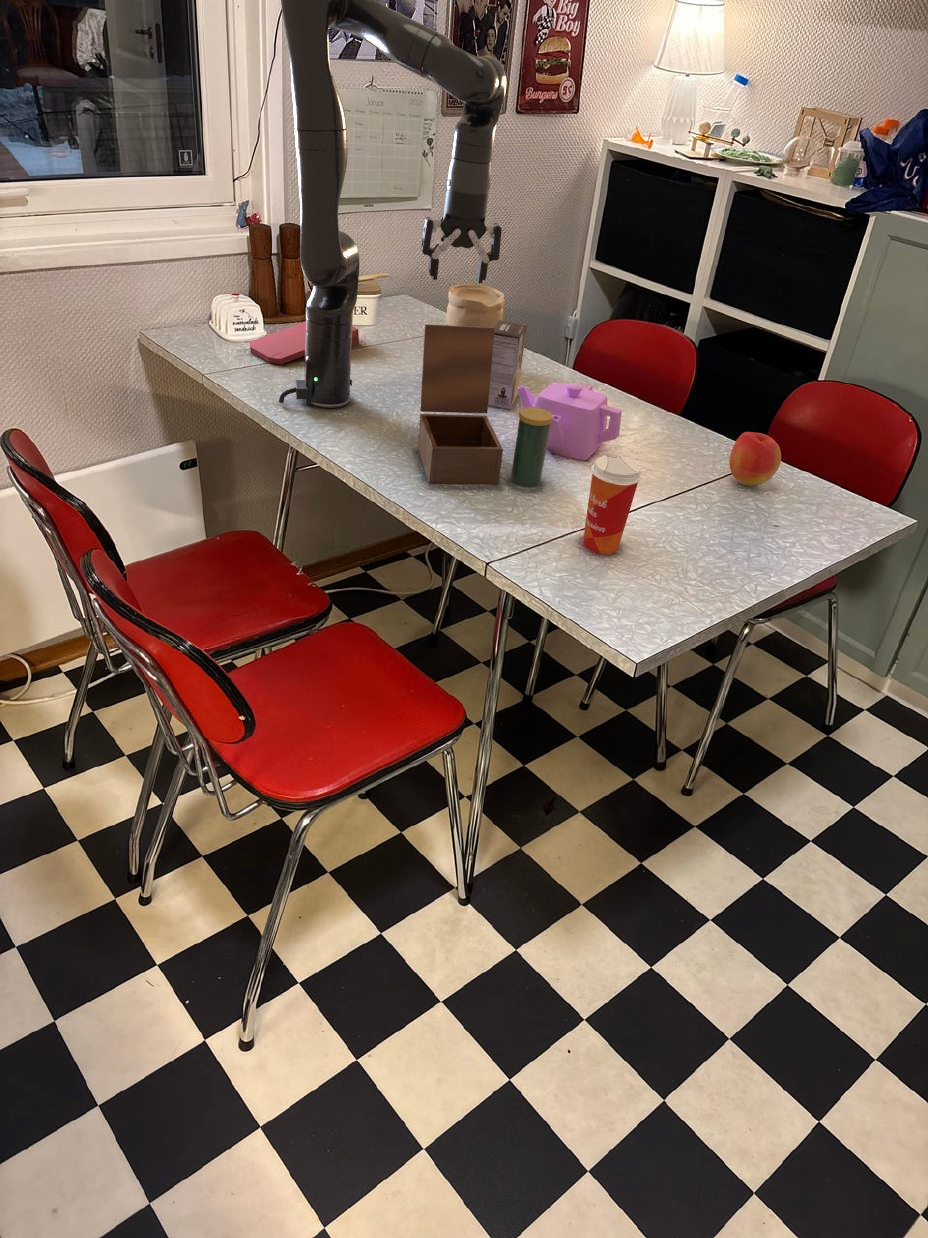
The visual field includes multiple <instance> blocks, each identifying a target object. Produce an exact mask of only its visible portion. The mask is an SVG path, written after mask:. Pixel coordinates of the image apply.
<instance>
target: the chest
mask: <svg viewBox="0 0 928 1238" xmlns="http://www.w3.org/2000/svg"><path fill="white" fill-rule="evenodd" d="M417 451H418V454H419V457H420V461H421V463H422V466H423V468H424V473H425V476H426V479H427V481H428V484H429V485H474V486H475V485H477V486H478V485H479V486H480V485H482V486H483V485H484V486H485V485H488V486H491V485H492V486H498V485H499V481H500V475H501V467H502V462H503V461H502V459H503V454H504V453H503V452H504V448H503V446H502V444H501V442H500V440H499V437H498V436H497V435H496V432H495V429H494V427H493V426H492V424H491V421H490V420H489V417H488V416H487V415H482V414H481V415H480V414H449V413H448V414H446V413H443V414H442V413H420V416H419V427H418V439H417Z"/></svg>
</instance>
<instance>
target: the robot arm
mask: <svg viewBox="0 0 928 1238" xmlns="http://www.w3.org/2000/svg"><path fill="white" fill-rule="evenodd" d="M280 5H281V12H282V18H283V24H284V32H285V36H286V43H287V44H286V45H287V50H288V56H289V64H290V81H291V93H292V104H293V120H294V121H293V122H294V124H293V125H294V139H295V141H294V142H295V151H296V161H297V176H298V190H299V202H300V234H299V235H300V236H299V237H300V239H299V246H300V247H299V260H300V267H301V270H302V274H303V275H304V277H305V279H306V280H307V281H308V282H309V283H310V285H312V286H313V288H312V291H311V293H310V295H309V298H308V299H307V302H306V305H305V322H306V350H305V355H304V377H303V378H304V379H295V387H291V388H289V389H285V390H284V391H283V392H282V393H280V395H279V399H278V403H280V404H284V403H285V398H286V397H287V396H289V395H291V394H295V398H296V400H304V402H305V405H310V406H314V407H317V408H324V409H337V408H342V407H345V406H347V405H349V404H350V401H351V396H350V395H351V387H353V380H352V379H351V374H352V373H351V372H352V371H351V369H352V348H353V347H352V326H353V324H354V323H353V319H354V311H355V307H356V305H357V300H358V293H359V280H360V279H359V278H360V252H359V249H358V246H357V244H356V243H355V241H354V239H353V238H352V237H351V236H350V235H349V234H348V233H346V232H344V231H342V230H340V225H339V224H340V223H339V208H340V207H339V206H340V199H341V196H342V190H343V186H344V181H345V177H346V173H347V165H348V155H349V153H348V151H349V150H348V149H349V147H348V130H347V129H348V128H347V127H348V126H347V118H346V111H345V108H344V104H343V102H342V98H341V95H340V93H339V90H338V86H337V85H336V84H337V83H336V81H335V77H334V75H333V71H332V67H331V60H330V44H329V29H333V30H337V31H340V32H344V33H347V34H350V35H353V36H356V37H358V38H359V39H362V40H363V41H365V42H366V43H369V44H370V45H371V46H373V47H374V48H376V49H377V50H379V52H381V53H382V54H383V55H385V57H387V58H388V59H390V60H391V61H392V62H394V63H396V64H397V65H398V66H400V67H402V68H403V69H405V70H408V71H409V72H411V73H413V74H414V75H417V76H418V77H420V78H423V79H425V80H427V81H429V82H433V83H434V84H435V85H437V87H439V88H440V89H442V90H443V91H444V92H446V93H447V94H448V95H449V96H451V97H453V98H455V99H456V100H458V101H460V102H461V103H463V108H462V114H461V117H460V119H458V121H457V122H456V124H455V125H454V126H455V127H454V131H453V136H452V146H451V157H450V161H449V164H448V170H447V178H446V188H445V197H444V205H443V214H442V218H441V219H434V218H432V217H430V216H426V217H425V218H424V223H423V231H422V236H421V244H420V250H421V252H422V254H423V255H425V256H427V257H429V265H428V272H429V276H430V277H431V279H432V280H433V281H437V280H438V275H439V274H438V273H439V266H440V265H439V264H440V259H439V257H440V256H441V255H442V254H443V253H444V252H445V251H446V250H447V249H448V248H449V247H450V246H451V247H452V248H456V249H457V248H463V249H471V248H473V247H474V248H475V250H476V253H477V254H478V256H479V258H480V259H478V264H477V272H476V282H477V284H483V282H484V281H486V279H487V274H488V269H489V268H488V267H489V263H491V262H493V261H498V260H500V255H501V241H502V230H503V229H502V227H501V226H500V224H499V223H497V222H495V223H493V224H486V216H487V209H488V202H489V194H490V189H491V178H492V159H493V153H494V144H495V133H496V130H497V126H498V123H499V120H500V116H501V112H502V108H503V105H504V102H505V96H506V90H507V75H506V71H505V67H504V66H503V63H501V62H500V60H499V59H498V58H496V57H494V56H491V55H480V56H477V55H474V54H472V53H470V52H468V51H466V50H464V49H462V48H460V47H458V46H456V45H455V43H454V42H453V40H452V39H450V38H449V37H447V36H446V35H445V34H443V33H441V32H439V31H437V30H435V29H433V28H431V27H430V26H429V27H428V26H427V25H425V24H423V23H421V22H419V21H417V20H415V19H413V18H410V17H409V16H406V15H404V14H403V13H400V12H398V11H396V10H394V9H392V8H390V7H388V6H387V5H384V4H383V3H381V2H379V1H378V0H280ZM438 228H440V230H441V232H442V235H441V236H440V238H439V239H438V240H437V242H436V243H435V245H434V246H432V247H431V242H432V236H433V234H434V233H436V231H437V229H438ZM486 232H487V233H488V236H489V238H491V241H490V250H489V251H488V252H486V250H485V249H484V247H483V245H482V242H481V241H480V240H481V238H482V237H483V236H484V235H485V234H486Z"/></svg>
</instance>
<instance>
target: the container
mask: <svg viewBox="0 0 928 1238" xmlns="http://www.w3.org/2000/svg"><path fill="white" fill-rule="evenodd" d="M504 306H505V293H504V292H503V291H501V290H499V289H496V288H494V287H491V286H487V285H482V284H472V283H470V284H467V283H462V284H456V285H452V286H451V287H449V289H448V303H447V309H446V316H445V317H446V319H445V322H446V325H451V326H472V327H493V328H495V327H496V325H497V323H498V322H499V320H501V321H503V314H504Z"/></svg>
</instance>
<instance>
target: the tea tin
mask: <svg viewBox="0 0 928 1238" xmlns="http://www.w3.org/2000/svg"><path fill="white" fill-rule="evenodd" d="M552 417H553V416H552V414H551V413H550V412H549V411H547V410H545V409H541V408H536V407H527V408H523V407H522V408H521V409H520V410H519V414H518V418H519V419H518V426H517V433H516V439H515V446H514V453H513V458H512V459H513V460H512V466H511V473H510V482H511V483H513V484H514V485H515V486H519V487H521V488H536V487H538V486H540V485H541V483H542V482H541V481H542V477H543V471H544V470H543V469H544V464H545V458H546V452H547V448H546V447H547V441H548V435H549V429H550V424H551V422H552Z"/></svg>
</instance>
